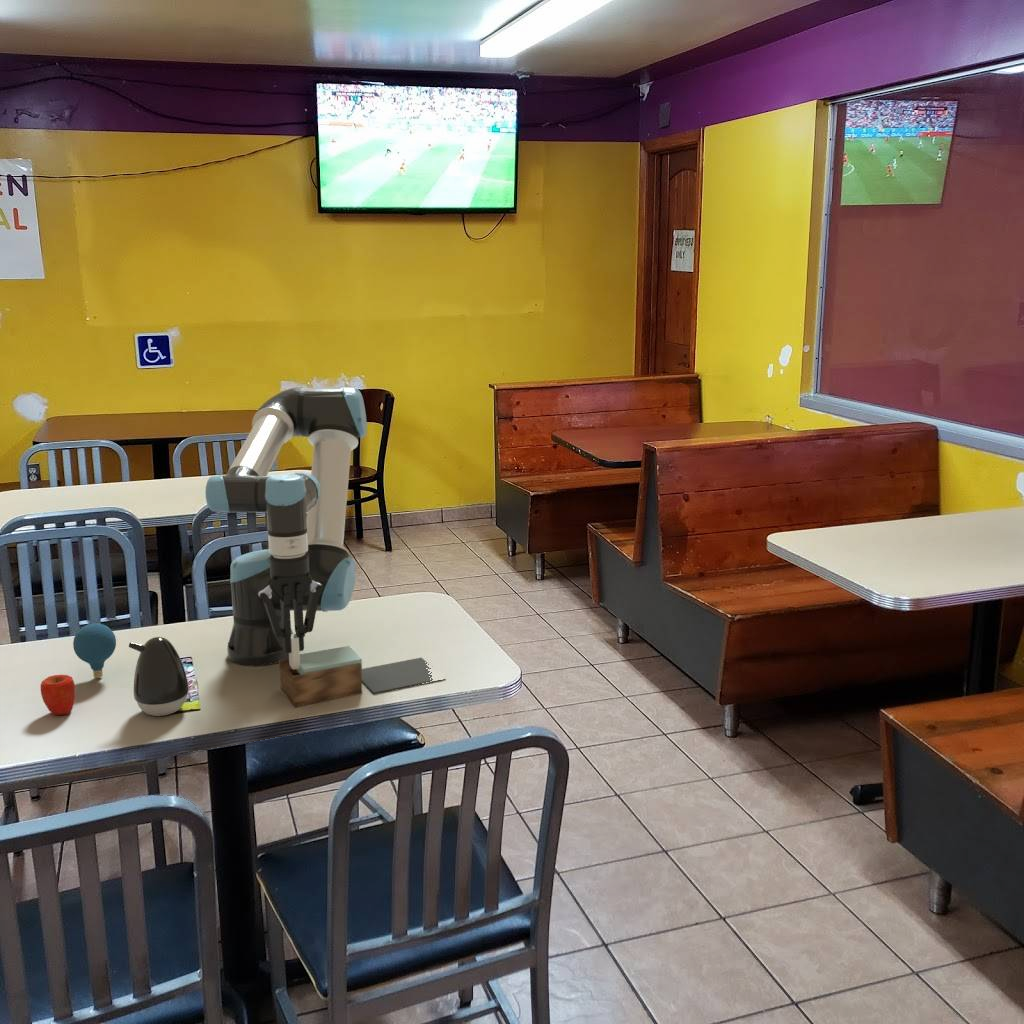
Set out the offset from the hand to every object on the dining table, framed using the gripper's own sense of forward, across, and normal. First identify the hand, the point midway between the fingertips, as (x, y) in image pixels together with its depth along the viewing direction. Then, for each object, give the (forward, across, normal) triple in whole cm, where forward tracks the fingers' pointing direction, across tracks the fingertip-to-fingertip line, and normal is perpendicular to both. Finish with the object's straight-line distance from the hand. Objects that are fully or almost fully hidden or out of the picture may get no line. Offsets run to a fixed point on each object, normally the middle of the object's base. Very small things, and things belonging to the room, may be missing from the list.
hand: (294, 666), depth 206 cm
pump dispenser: (+7, -25, +5) cm, 27 cm away
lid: (+1, +7, 0) cm, 7 cm away
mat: (+6, +22, 0) cm, 23 cm away
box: (+6, +5, 0) cm, 8 cm away
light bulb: (+7, -35, +29) cm, 46 cm away
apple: (+7, -43, +14) cm, 46 cm away
